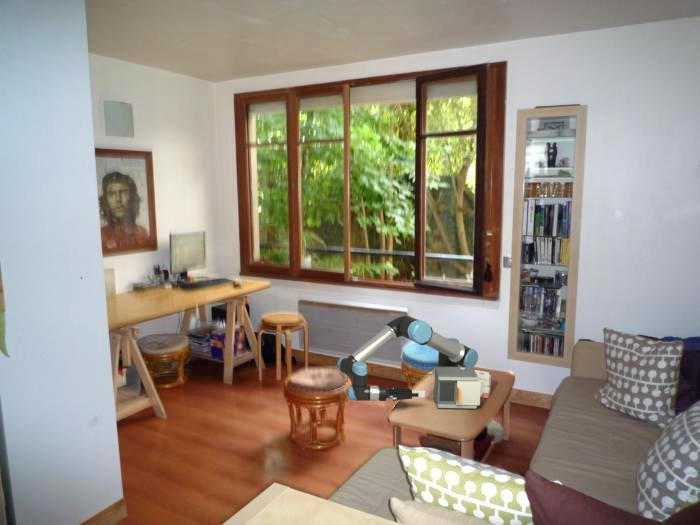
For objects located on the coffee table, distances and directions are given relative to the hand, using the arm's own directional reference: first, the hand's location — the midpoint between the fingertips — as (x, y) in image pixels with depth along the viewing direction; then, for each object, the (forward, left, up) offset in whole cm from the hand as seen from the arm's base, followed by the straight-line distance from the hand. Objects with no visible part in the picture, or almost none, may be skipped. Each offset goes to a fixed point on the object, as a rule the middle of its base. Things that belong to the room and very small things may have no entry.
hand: (424, 394), depth 258 cm
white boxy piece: (-1, +23, -7) cm, 24 cm away
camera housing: (-10, +17, -9) cm, 22 cm away
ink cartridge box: (-21, +34, -9) cm, 41 cm away
